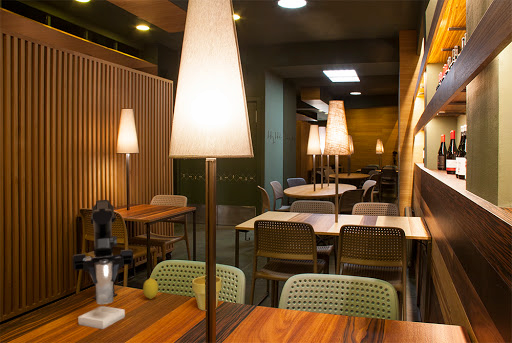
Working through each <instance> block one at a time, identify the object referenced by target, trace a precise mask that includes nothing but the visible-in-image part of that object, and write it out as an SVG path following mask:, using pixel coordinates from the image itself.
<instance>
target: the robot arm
mask: <svg viewBox="0 0 512 343" xmlns="http://www.w3.org/2000/svg"><path fill="white" fill-rule="evenodd" d="M114 208H115V207H114V205H112V204H111V203H110V199H109V200H108V199H100V200H99V199H98V200H96V201H95V204H94V205H93V206H92V208H91V210H92V211H91V212H92V213H91V214H90V224H91V225H93V234H94V236H93V237H94V238H93V241H94V242H93V244H94V246H93V255H94V256H90V255H89V256H87V255H86V253H78V254H74V255H73V256H72V267H73V270H74V271H81V270H83V271H84V272H87V273H88V274H89V276H90V277H91V280H92V284H93V285H96V273H95V264H96V263H98V262H99V260H102V259H108V261H111V262H112V267H113V298H115V297H116V296H117V297H118V293H115V282H117V281H119V271H120V269H122V268H123V267H124V266H127V265H132V264H134V251H133V250H132V249H129V248H128V249H121V250H120V254H113V253H114V251H113V250H114V248H115V247H118V237H117V235H112V234H113V233H112V232H113V231H112V226H113V224H114V223H115V221H117V218H116V214H115V209H114ZM113 247H114V248H113ZM95 291H96V287H95ZM92 298H93V299H94V300H96V295H95V296H92Z"/></svg>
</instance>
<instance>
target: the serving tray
mask: <svg viewBox="0 0 512 343" xmlns="http://www.w3.org/2000/svg"><path fill="white" fill-rule="evenodd" d="M125 311H126V310H125V309H122V308H118V307H117V308H116V307H111V306H104V305H101V306H98V307H96V308H94V309H92V310H90V311H88V312H85V313H84V314H81V315H79V316H78V317H77V318H78V319H77V320H78V321H77V322H78V325H79V326H84V327H90V328H93V329H99V330H104V329H106V328H107V327H110V326H111V325H113V324H115V323H117V322H118V321H121V320H122V319H124V318H125V316H126V314H125V313H126V312H125Z"/></svg>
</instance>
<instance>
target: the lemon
mask: <svg viewBox="0 0 512 343" xmlns="http://www.w3.org/2000/svg"><path fill="white" fill-rule="evenodd" d="M142 292H143V296H145V297H146V298H147V299H149V300H152V299H153V298H155V297H156V296H157V295H158V293H159V284H158V282H157V281H156V279H154V278H152V277H150V278H148V279H147V280H145V281H144V282H143V287H142Z"/></svg>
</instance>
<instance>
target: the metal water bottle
mask: <svg viewBox="0 0 512 343" xmlns="http://www.w3.org/2000/svg"><path fill="white" fill-rule="evenodd" d="M94 268H95V273H96V284H95V288H96V290H95V296H96V299H95V300H96V304H97V305H107V304H108V305H109V304H111V303H113V302H114V297H113V267H112V262H111V261H108V259H102V260H99V262H98V263H96V264H95V263H94Z"/></svg>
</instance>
